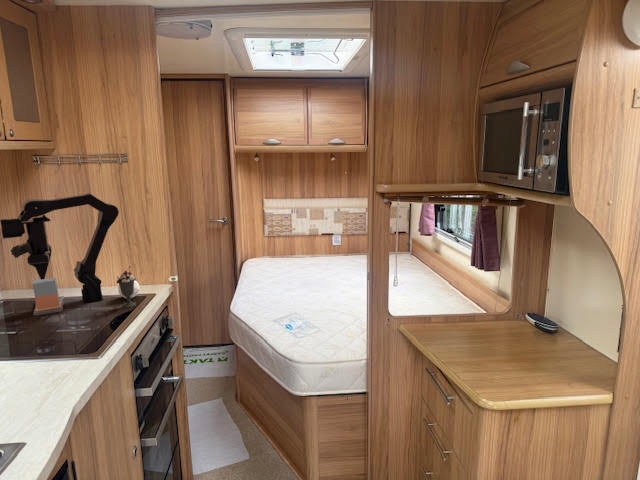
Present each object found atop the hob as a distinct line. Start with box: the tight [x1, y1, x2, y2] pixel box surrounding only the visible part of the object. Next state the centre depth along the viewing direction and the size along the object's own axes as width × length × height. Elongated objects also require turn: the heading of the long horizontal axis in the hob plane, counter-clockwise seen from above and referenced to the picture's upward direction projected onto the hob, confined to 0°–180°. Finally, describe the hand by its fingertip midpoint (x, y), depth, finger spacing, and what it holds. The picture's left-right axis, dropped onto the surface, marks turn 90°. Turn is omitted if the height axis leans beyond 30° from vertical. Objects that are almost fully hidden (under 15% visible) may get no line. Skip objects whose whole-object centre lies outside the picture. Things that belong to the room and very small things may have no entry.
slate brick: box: [32, 277, 59, 298], centre depth 164 cm, size 7×5×5 cm, turn 117°
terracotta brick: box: [34, 290, 60, 310], centre depth 166 cm, size 7×5×5 cm, turn 117°
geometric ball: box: [117, 280, 140, 299], centre depth 176 cm, size 8×8×8 cm
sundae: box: [116, 265, 137, 309], centre depth 167 cm, size 7×7×15 cm
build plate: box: [33, 295, 65, 317], centre depth 169 cm, size 9×16×1 cm, turn 27°
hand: (43, 275), depth 163 cm, fingers open, 9 cm apart
